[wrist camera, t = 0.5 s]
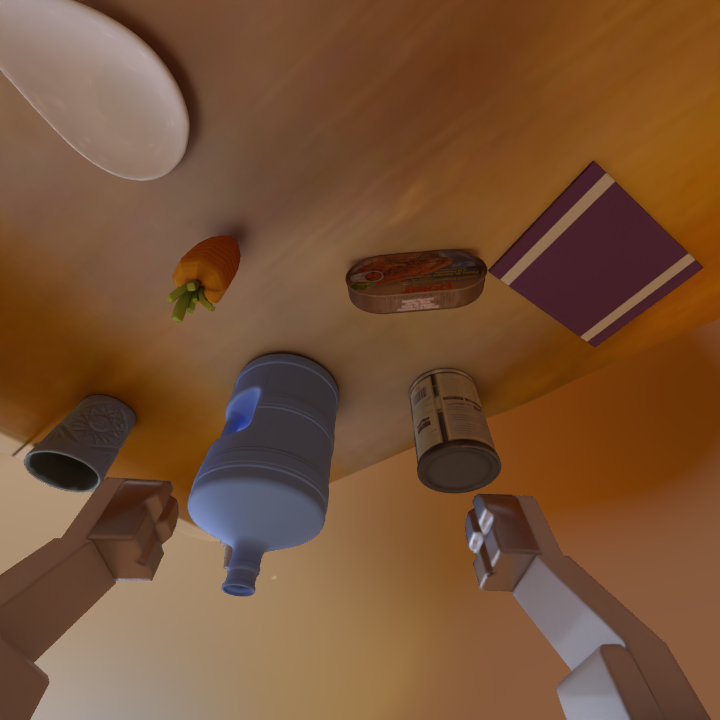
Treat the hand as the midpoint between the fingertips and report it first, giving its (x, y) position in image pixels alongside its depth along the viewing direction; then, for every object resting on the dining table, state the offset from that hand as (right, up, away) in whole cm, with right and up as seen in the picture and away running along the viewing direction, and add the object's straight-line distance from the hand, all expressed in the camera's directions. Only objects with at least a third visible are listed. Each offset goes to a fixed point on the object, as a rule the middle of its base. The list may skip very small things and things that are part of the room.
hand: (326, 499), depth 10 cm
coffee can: (+14, -1, +47) cm, 49 cm away
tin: (+7, +15, +34) cm, 38 cm away
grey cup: (-41, -5, +52) cm, 66 cm away
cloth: (+28, +15, +33) cm, 46 cm away
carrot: (-14, +18, +32) cm, 39 cm away
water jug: (-10, -1, +47) cm, 48 cm away
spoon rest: (-24, +31, +22) cm, 45 cm away
